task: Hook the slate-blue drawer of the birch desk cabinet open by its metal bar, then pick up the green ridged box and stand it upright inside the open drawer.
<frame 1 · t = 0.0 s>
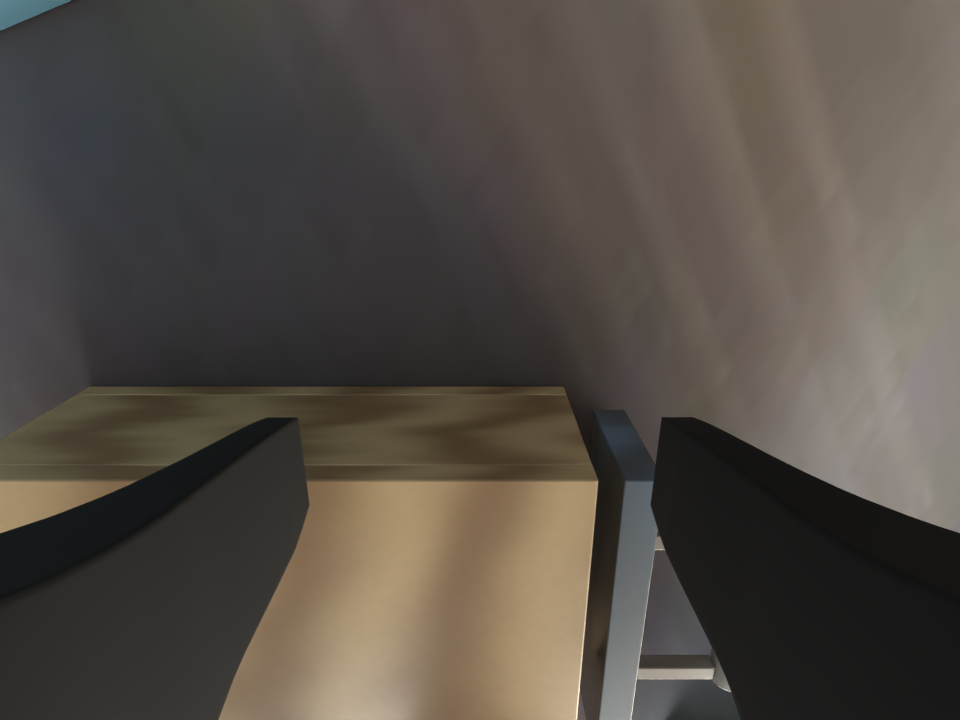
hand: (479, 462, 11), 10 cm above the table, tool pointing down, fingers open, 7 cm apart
cabinet: (342, 529, 24), on the table
drawer: (456, 585, 20), point 3 cm above the table, slide at 1.0 cm
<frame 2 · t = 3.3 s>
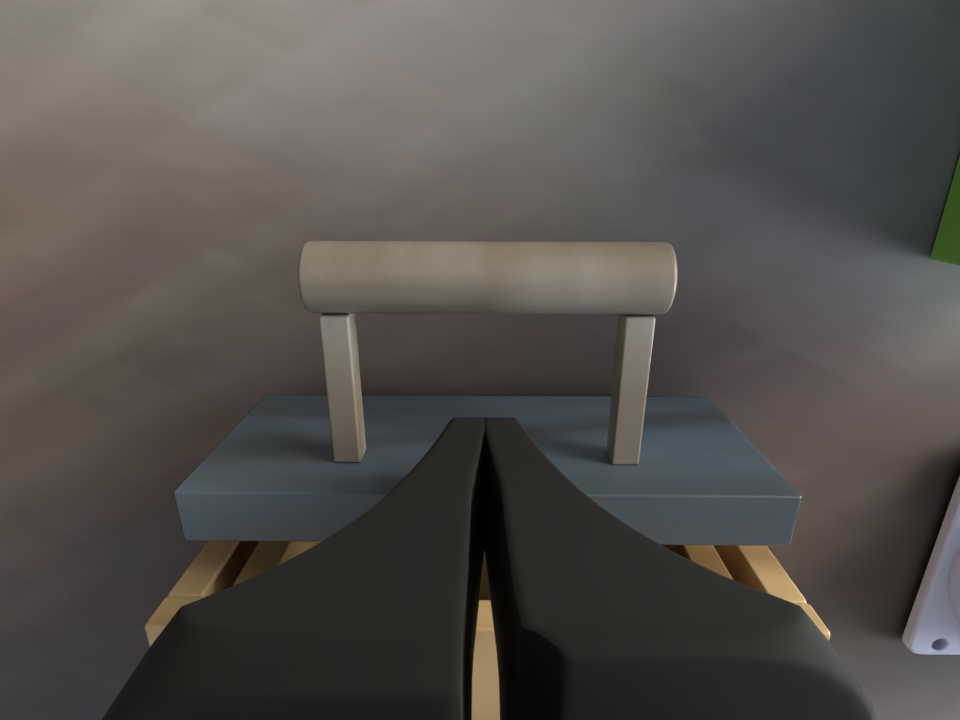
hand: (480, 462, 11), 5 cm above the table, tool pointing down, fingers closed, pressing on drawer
cabinet: (484, 677, 20), on the table
drawer: (484, 640, 15), point 3 cm above the table, slide at 1.3 cm, touching gripper
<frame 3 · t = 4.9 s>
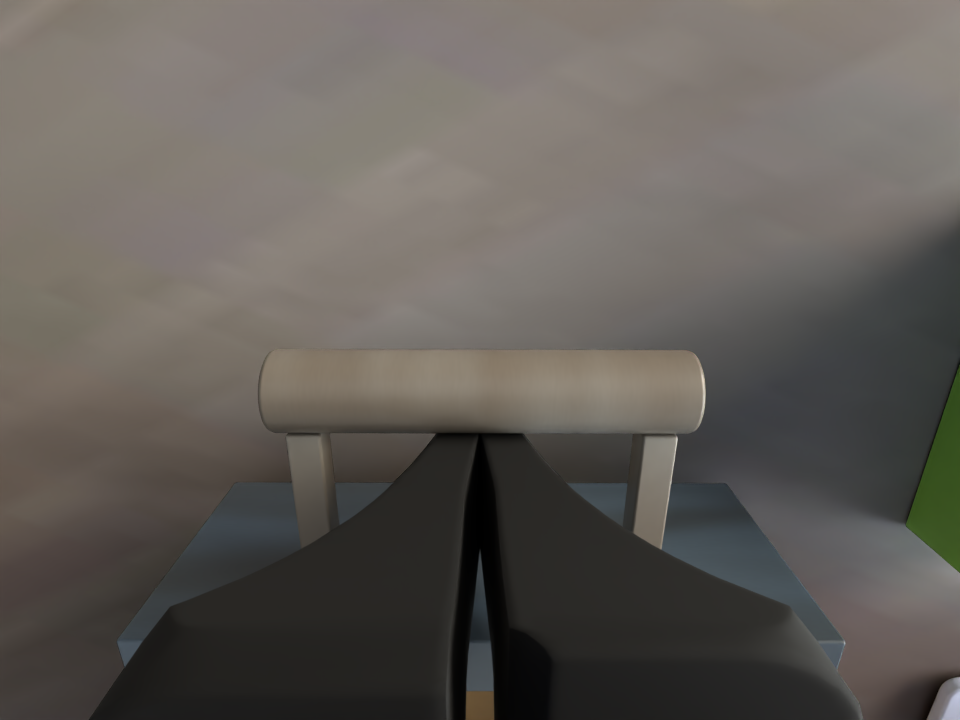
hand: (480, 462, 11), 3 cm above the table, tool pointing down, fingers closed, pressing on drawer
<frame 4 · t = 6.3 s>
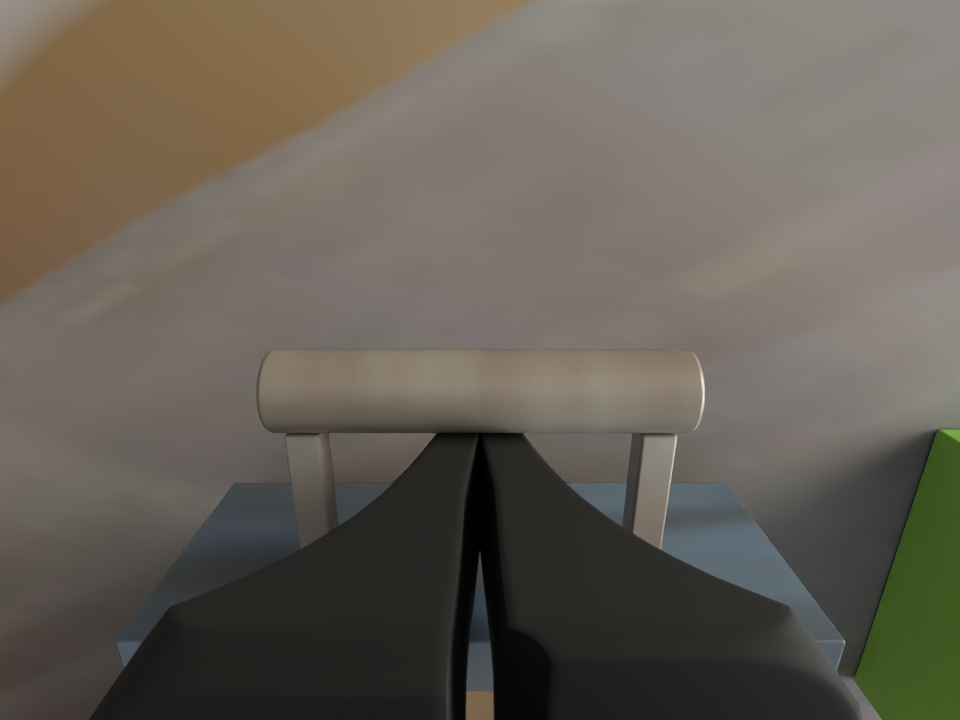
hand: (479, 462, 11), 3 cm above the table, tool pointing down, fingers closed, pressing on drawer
green ridged box: (945, 566, 16), on the table
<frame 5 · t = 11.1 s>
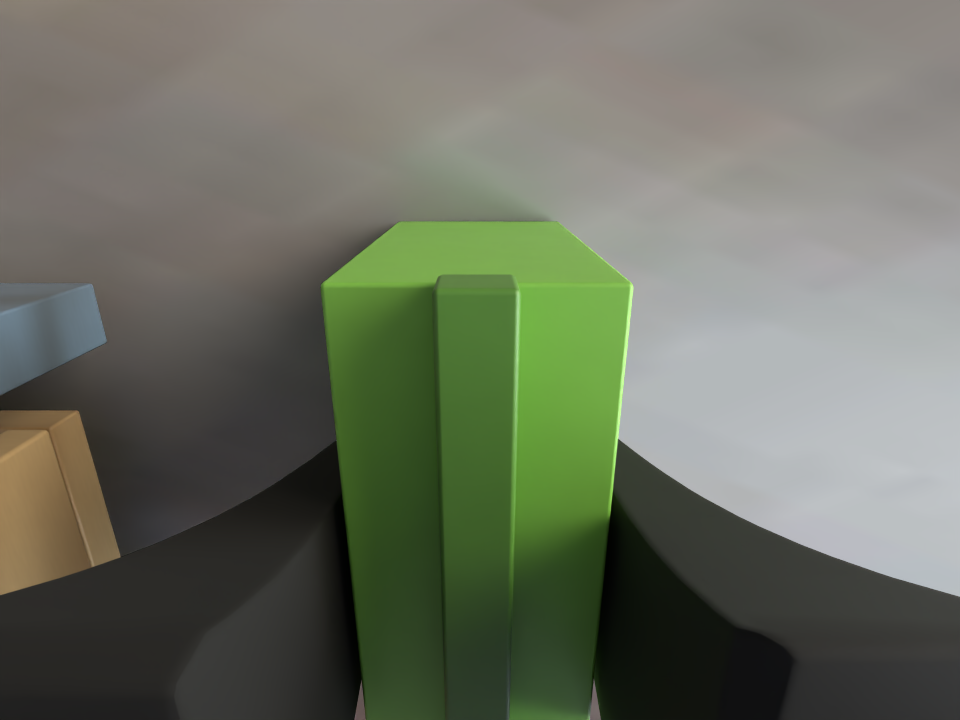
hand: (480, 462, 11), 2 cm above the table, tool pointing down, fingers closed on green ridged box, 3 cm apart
green ridged box: (478, 424, 12), on the table, touching gripper
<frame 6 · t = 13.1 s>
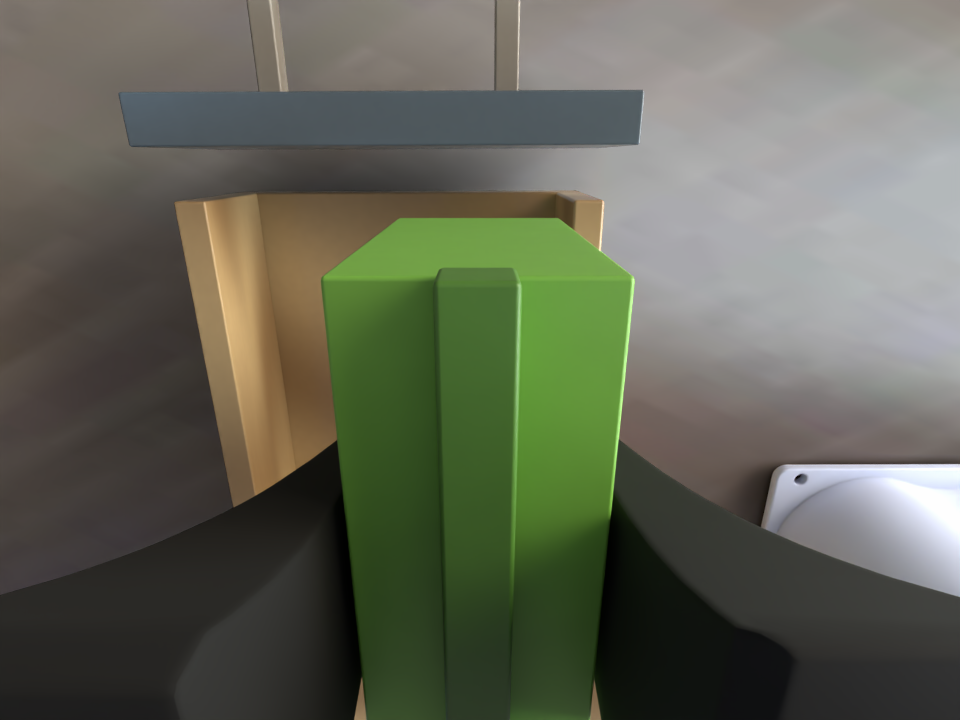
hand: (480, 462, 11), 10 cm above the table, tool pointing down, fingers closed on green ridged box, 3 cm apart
cabinet: (434, 641, 26), on the table
green ridged box: (478, 422, 12), point 9 cm above the table, touching gripper
drawer: (407, 323, 17), point 3 cm above the table, slide at 13.0 cm
when the fingers open (4 cm above the table, at t = 15.2 s): green ridged box stays where it is, resting on drawer.
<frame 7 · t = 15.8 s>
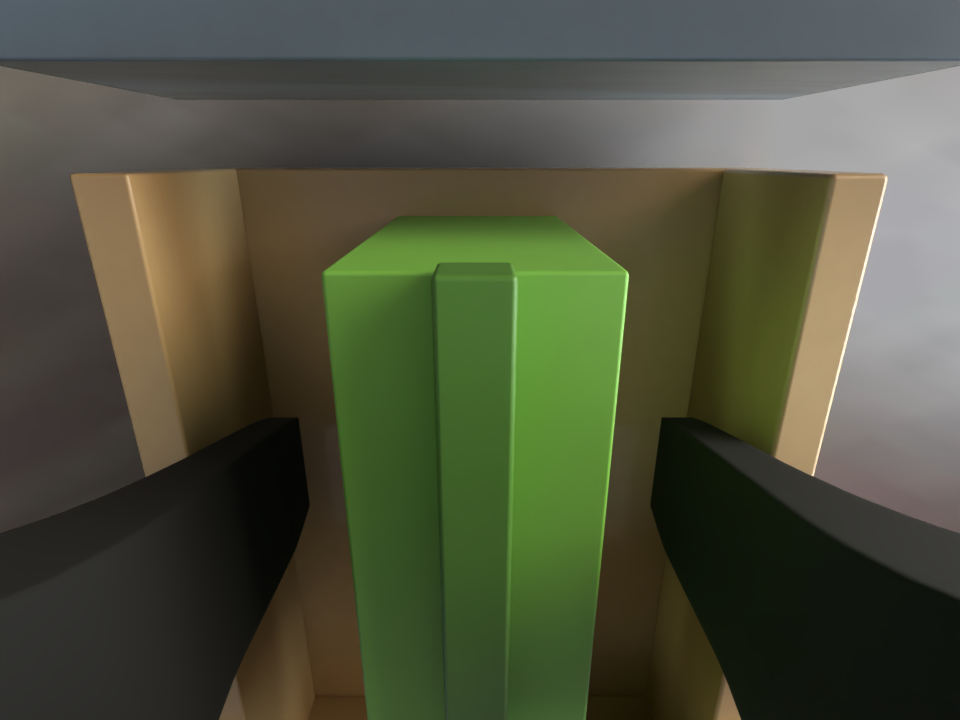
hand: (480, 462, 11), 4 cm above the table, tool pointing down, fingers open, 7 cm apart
green ridged box: (477, 418, 12), point 2 cm above the table, touching drawer
drawer: (479, 380, 11), point 3 cm above the table, slide at 13.0 cm, touching green ridged box
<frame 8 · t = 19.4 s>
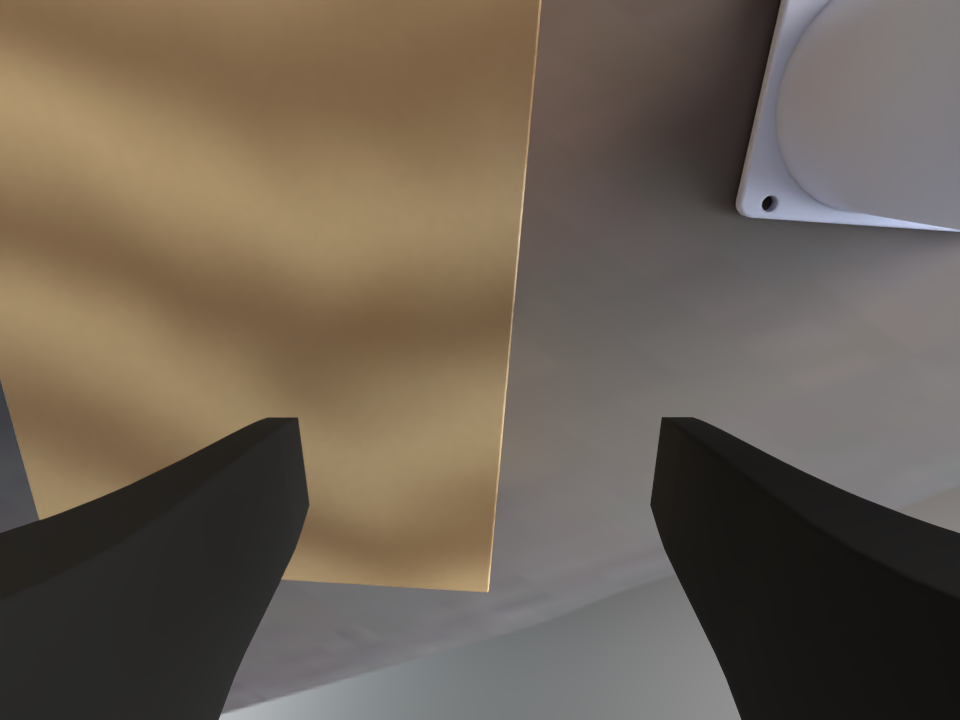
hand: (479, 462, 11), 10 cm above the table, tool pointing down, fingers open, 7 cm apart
cabinet: (319, 244, 20), on the table
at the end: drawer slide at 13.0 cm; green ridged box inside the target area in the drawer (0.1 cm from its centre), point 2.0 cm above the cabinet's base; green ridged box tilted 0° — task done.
